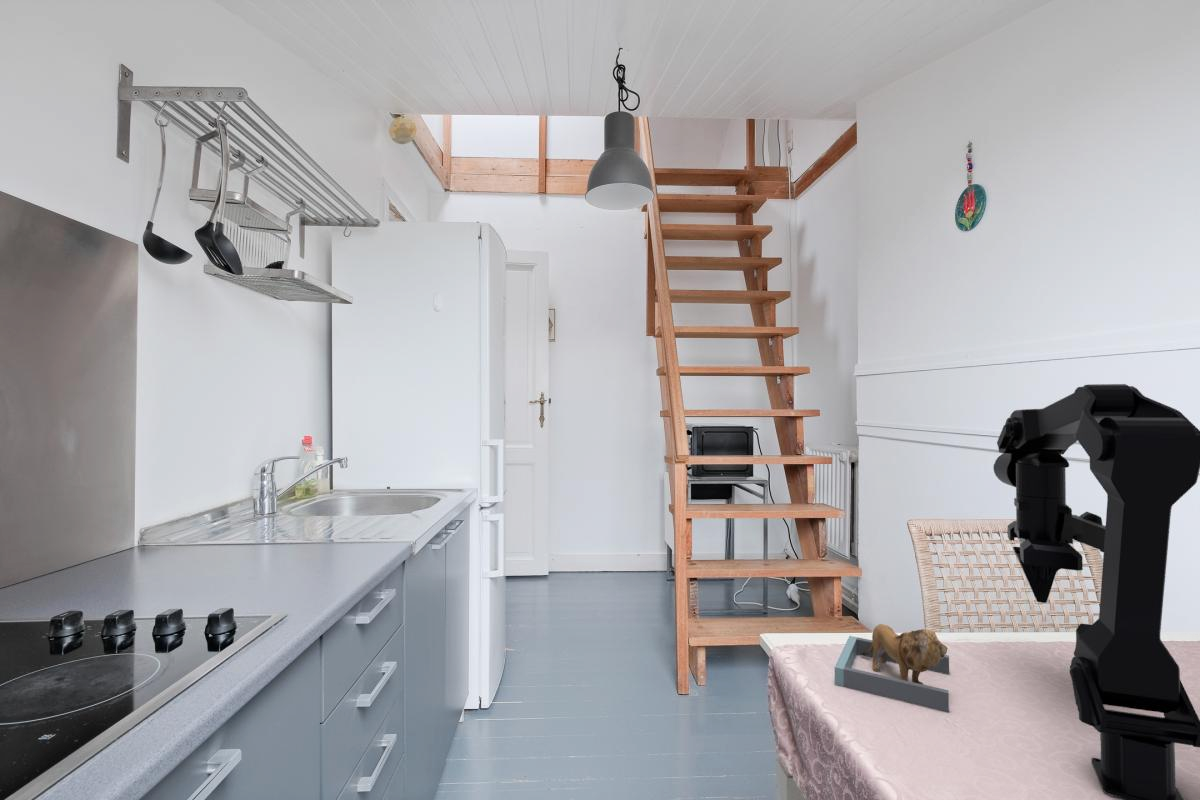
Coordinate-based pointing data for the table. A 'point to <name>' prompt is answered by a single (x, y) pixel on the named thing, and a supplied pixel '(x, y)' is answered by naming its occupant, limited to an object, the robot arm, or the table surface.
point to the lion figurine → (906, 650)
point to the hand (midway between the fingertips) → (1041, 601)
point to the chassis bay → (888, 678)
